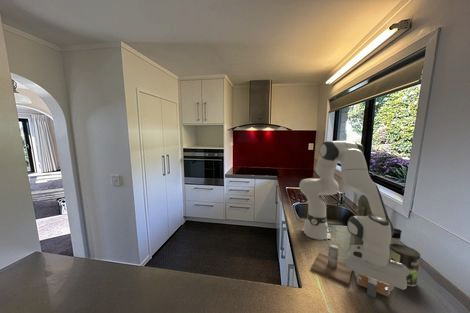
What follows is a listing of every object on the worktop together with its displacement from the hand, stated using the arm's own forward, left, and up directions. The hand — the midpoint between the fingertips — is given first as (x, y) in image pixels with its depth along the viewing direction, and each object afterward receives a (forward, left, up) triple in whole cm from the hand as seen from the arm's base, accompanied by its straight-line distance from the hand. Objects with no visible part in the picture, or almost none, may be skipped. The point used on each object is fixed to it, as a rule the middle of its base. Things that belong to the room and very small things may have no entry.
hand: (372, 287), depth 77 cm
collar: (-6, 0, -3) cm, 6 cm away
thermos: (-27, -5, -3) cm, 27 cm away
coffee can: (-21, +11, -3) cm, 24 cm away
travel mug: (-28, +7, -3) cm, 29 cm away
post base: (-6, -16, -3) cm, 17 cm away
